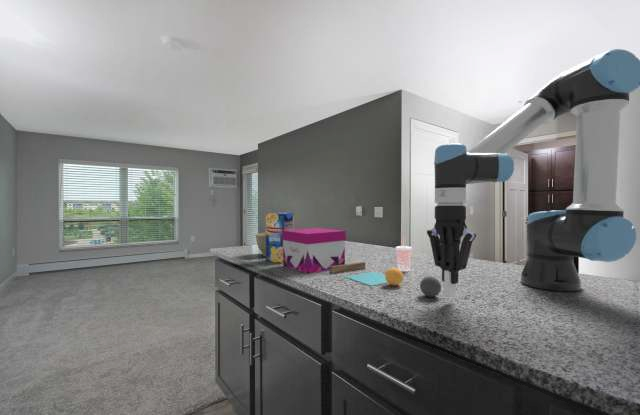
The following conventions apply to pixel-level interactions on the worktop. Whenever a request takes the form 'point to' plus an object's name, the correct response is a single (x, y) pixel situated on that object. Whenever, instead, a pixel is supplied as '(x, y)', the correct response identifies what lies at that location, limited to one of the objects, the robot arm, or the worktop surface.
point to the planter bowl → (261, 242)
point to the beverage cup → (403, 257)
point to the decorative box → (313, 249)
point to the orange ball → (394, 276)
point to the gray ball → (430, 286)
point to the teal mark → (369, 278)
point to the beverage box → (277, 234)
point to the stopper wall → (347, 267)
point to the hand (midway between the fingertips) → (450, 295)
